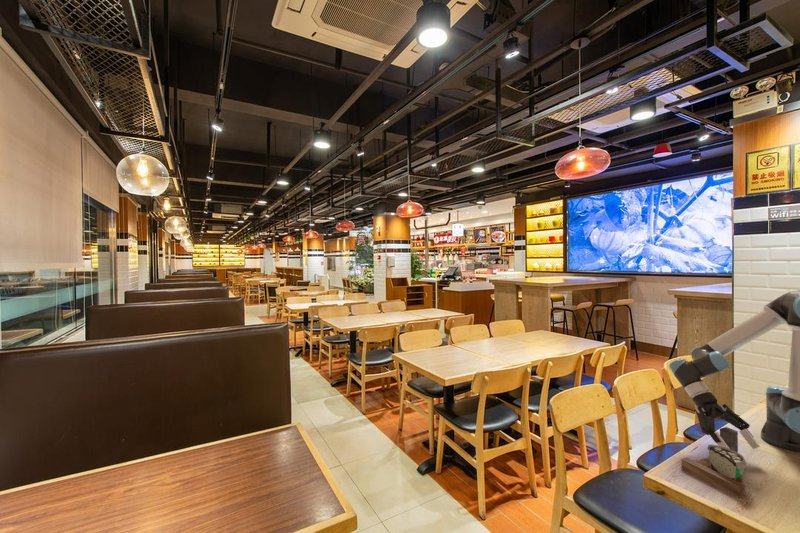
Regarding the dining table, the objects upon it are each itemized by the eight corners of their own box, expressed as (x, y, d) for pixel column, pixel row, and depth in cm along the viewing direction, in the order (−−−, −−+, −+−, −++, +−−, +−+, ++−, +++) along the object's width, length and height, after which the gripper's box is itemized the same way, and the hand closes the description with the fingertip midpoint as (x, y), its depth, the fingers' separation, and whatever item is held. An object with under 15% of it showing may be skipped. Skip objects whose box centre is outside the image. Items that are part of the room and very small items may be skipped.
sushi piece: (757, 493, 115) (757, 463, 114) (738, 493, 115) (737, 463, 115) (725, 471, 127) (725, 444, 127) (707, 470, 127) (707, 443, 127)
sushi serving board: (726, 455, 137) (726, 427, 137) (786, 480, 121) (786, 448, 121) (681, 468, 129) (681, 438, 129) (739, 497, 113) (738, 463, 113)
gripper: (718, 396, 150) (760, 449, 135) (669, 401, 146) (707, 456, 131) (732, 388, 145) (777, 442, 130) (682, 393, 141) (722, 449, 126)
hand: (742, 449), depth 131 cm, fingers open, 13 cm apart
